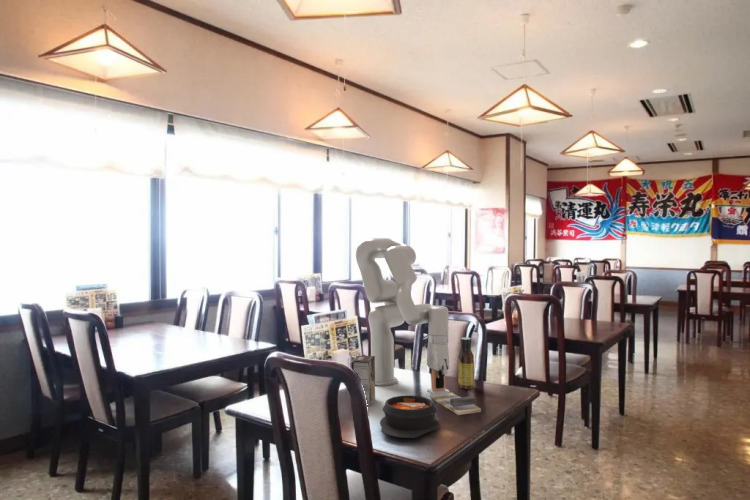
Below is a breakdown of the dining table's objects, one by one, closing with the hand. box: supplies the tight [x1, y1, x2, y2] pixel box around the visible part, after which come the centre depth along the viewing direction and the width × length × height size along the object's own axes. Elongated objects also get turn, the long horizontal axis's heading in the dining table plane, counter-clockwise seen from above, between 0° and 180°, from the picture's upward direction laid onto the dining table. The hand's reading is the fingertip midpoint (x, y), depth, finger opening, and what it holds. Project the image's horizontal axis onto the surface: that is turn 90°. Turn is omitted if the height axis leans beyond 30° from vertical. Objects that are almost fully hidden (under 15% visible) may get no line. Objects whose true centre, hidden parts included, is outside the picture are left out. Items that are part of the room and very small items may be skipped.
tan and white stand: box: [426, 369, 451, 395], centre depth 194 cm, size 5×7×9 cm
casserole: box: [379, 394, 440, 439], centre depth 159 cm, size 25×19×8 cm
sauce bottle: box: [457, 336, 475, 390], centre depth 204 cm, size 6×6×20 cm
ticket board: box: [430, 392, 482, 416], centre depth 182 cm, size 20×9×4 cm, turn 21°
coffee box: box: [352, 355, 376, 407], centre depth 186 cm, size 9×6×16 cm
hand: (438, 386), depth 194 cm, fingers closed
